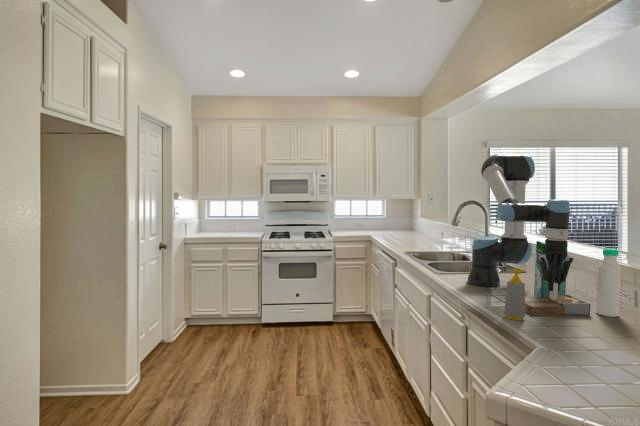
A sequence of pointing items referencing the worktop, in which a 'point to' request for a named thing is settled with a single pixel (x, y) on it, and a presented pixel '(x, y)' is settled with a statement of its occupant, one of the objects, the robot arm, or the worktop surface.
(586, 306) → the tray
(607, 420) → the worktop surface
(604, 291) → the water bottle
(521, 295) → the soap bottle
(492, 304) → the worktop surface
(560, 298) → the tile
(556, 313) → the walnut board
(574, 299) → the tile
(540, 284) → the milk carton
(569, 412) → the worktop surface
